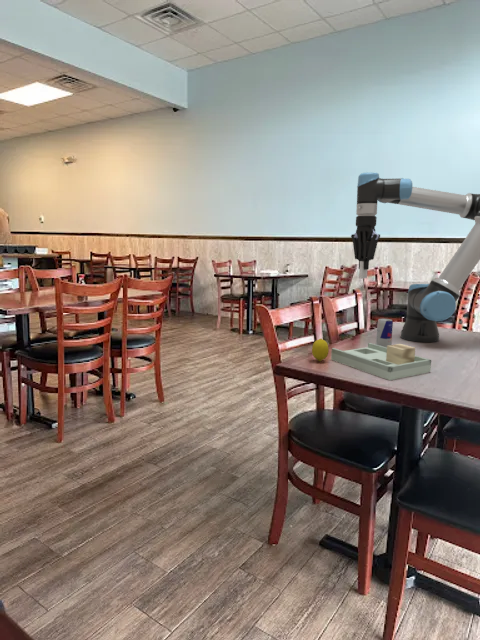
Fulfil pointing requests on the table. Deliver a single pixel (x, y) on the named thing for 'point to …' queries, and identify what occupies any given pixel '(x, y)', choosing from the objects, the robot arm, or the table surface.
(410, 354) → the maple block
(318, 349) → the lemon
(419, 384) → the table surface
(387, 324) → the energy drink
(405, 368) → the sage tray
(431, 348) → the table surface
